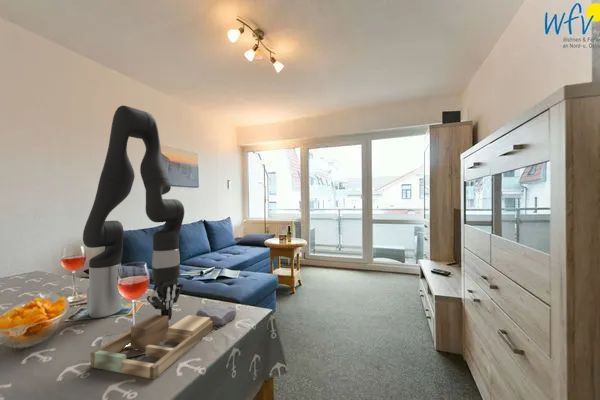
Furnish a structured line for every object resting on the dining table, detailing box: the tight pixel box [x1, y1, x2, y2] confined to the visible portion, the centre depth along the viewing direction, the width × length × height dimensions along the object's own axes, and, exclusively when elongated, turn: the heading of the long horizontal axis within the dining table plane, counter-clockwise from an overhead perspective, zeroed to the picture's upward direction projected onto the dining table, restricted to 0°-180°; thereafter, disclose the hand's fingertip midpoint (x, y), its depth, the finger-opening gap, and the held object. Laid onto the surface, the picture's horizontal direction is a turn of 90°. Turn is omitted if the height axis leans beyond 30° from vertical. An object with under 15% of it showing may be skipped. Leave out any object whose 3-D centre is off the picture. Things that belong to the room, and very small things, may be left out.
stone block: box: [195, 302, 237, 327], centre depth 87 cm, size 12×5×10 cm
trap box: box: [90, 313, 214, 380], centre depth 70 cm, size 18×23×4 cm
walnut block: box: [130, 313, 170, 353], centre depth 72 cm, size 5×8×6 cm, turn 166°
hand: (166, 320), depth 77 cm, fingers closed
